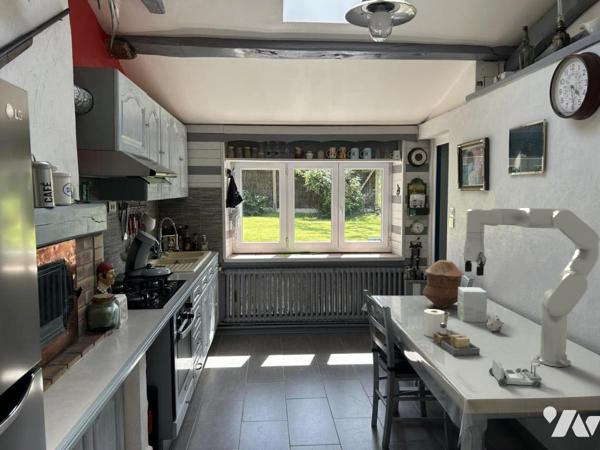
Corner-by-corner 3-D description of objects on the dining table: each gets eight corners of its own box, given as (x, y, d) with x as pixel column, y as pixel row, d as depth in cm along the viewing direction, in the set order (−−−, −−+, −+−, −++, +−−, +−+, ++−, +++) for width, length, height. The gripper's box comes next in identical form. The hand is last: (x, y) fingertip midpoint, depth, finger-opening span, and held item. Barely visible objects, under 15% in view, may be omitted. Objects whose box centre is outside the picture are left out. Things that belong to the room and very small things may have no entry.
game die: (497, 339, 232) (506, 327, 225) (481, 332, 233) (490, 321, 227) (497, 327, 238) (506, 315, 232) (482, 320, 240) (490, 309, 233)
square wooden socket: (453, 345, 211) (453, 336, 210) (439, 346, 209) (439, 337, 209) (446, 340, 217) (446, 331, 217) (432, 341, 216) (433, 332, 216)
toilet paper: (428, 330, 235) (428, 307, 234) (447, 334, 228) (447, 311, 227) (420, 334, 227) (420, 311, 226) (439, 338, 220) (440, 315, 220)
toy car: (536, 352, 175) (549, 363, 164) (535, 376, 176) (548, 389, 164) (489, 350, 177) (499, 361, 166) (488, 374, 178) (498, 386, 166)
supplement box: (479, 316, 262) (480, 287, 261) (486, 322, 249) (487, 292, 248) (456, 315, 264) (457, 286, 263) (462, 321, 251) (463, 291, 250)
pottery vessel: (414, 303, 291) (415, 259, 289) (443, 300, 302) (444, 256, 300) (441, 313, 268) (443, 264, 266) (473, 309, 278) (474, 262, 276)
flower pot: (429, 329, 236) (429, 313, 235) (432, 325, 244) (433, 309, 243) (447, 332, 231) (448, 316, 231) (450, 327, 240) (450, 311, 239)
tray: (479, 354, 198) (479, 348, 198) (453, 356, 196) (454, 349, 196) (465, 345, 211) (465, 339, 210) (440, 346, 209) (441, 340, 208)
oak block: (469, 351, 201) (469, 338, 201) (457, 352, 200) (457, 339, 200) (462, 347, 207) (463, 334, 206) (450, 347, 206) (451, 334, 206)
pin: (447, 344, 212) (447, 323, 212) (441, 344, 212) (442, 324, 211) (444, 342, 215) (444, 322, 215) (438, 342, 215) (439, 322, 214)
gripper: (457, 234, 207) (456, 270, 208) (478, 238, 190) (476, 277, 191) (472, 234, 208) (471, 270, 209) (493, 238, 191) (492, 276, 192)
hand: (473, 273), depth 200 cm, fingers open, 9 cm apart
